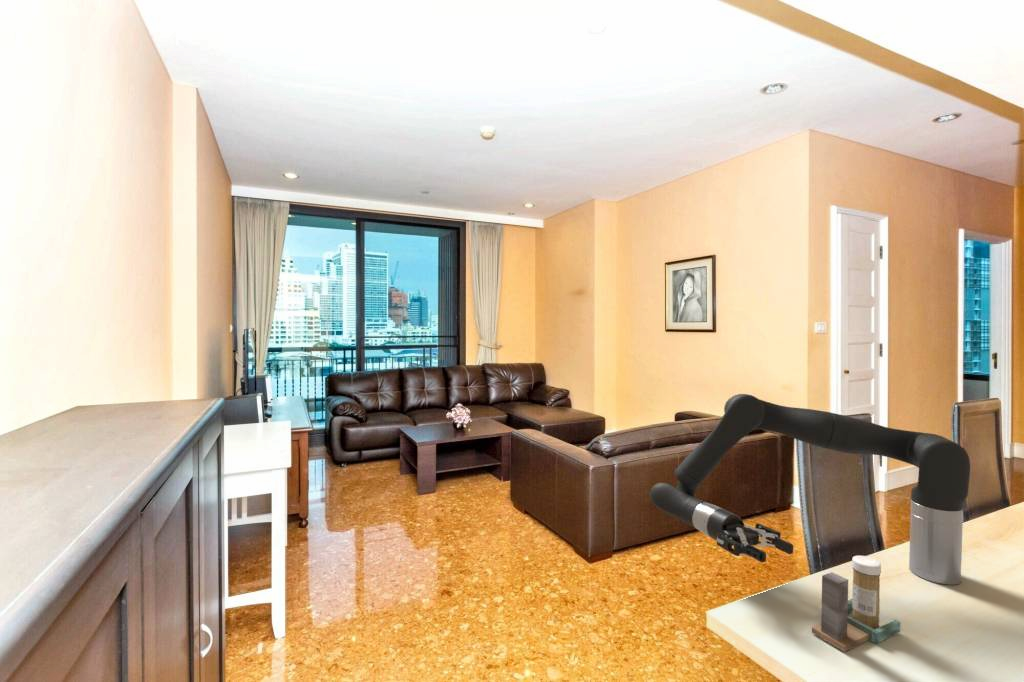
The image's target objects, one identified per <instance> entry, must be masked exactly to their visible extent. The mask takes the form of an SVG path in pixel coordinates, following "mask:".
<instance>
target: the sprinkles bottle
mask: <svg viewBox="0 0 1024 682" xmlns="http://www.w3.org/2000/svg"><path fill="white" fill-rule="evenodd" d="M851 561H852V562H851V563H852V565H851V567H852V570H853V572H852V573H853V574H852V575H853V576H852V596H851V597H852V598H851V599H852V606H853V612H852V616H851V617H852V618H853V619H855V620H857V621H859V622H861V623H863V624H865V625H867V626H868V627H870V628H872V629H874V630H875V629H877V628H879V627H880V614H881V613H880V610H881V607H880V606H881V605H880V604H881V601H880V600H881V599H880V590H881V589H880V585H881V584H880V581H881V580H880V576H881V573H882V565H881V563H880V561H878V560H877V559H875V558H873V557H869V556H866V555H854V556H852V560H851Z"/></svg>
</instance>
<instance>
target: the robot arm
mask: <svg viewBox="0 0 1024 682" xmlns="http://www.w3.org/2000/svg"><path fill="white" fill-rule="evenodd" d="M723 410H724V412H723V413H724V414H723V416H722V417H721V418H720V421H718V424H717V425H716V426H715V427H714V428H713V430H712V431H711V432H710V433H709V435H707V436H706V437H705V438H704V439H703V440H702V441H701V442H700V443H699V444H698V445H697V446H696V447H695V448H694V449H692V450H691V452H690V453H689V454H688V455H687V456H686V457H685V458H684V460H682V462H681V463H680V464H679V465H678V467H676V469H675V471H674V475H675V478H676V479H677V480H678V483H677V485H676V486H673V485H671V484H669V483H667V482H658V483H656V484H654V485H653V486H652V487H651V489H650V491H649V498H650V501H651V503H652V505H653V506H654V507H656V508H658V509H659V510H660V511H662V512H664V513H666V514H668V515H669V516H671V517H675V518H676V517H677V518H678V519H680V520H681V521H682V522H683V523H685V524H687V525H689V526H691V527H693V528H695V529H696V530H697V531H699V532H700V533H701V534H704V535H705V536H706V537H709V538H711V539H713V540H714V541H716V545H717V546H719V548H721V549H723V550H725V551H727V552H728V553H730V554H732V555H733V556H736V557H740V555H741V554H742V555H743V556H745V557H747V556H749V557H751V558H752V559H755V560H756V561H758V562H761V564H762V563H765V562H766V561H767V553H766V552H765V551H764V550H762V549H761V548H758V547H756V546H759V547H763V548H764V547H766V546H769V547H774V548H775V549H777V550H779V551H781V552H784V553H786V554H787V555H792V554H794V544H792V543H791V542H789V541H786V540H784V539H782V537H781V536H782V533H781V532H780V531H778V530H775V529H773V528H770V527H769V526H765V525H763V524H761V523H757V522H756V523H755V525H754V527H752V526H751V525H747V524H744V522H743V520H742V518H741V517H740V516H739V515H737V514H735V513H732V512H731V511H729V510H726V509H724V508H722V507H721V506H720V507H719V506H718V505H715V504H714V503H713V504H712V503H709V502H707V501H704V500H702V499H700V498H697V497H695V495H696V493H697V490H698V488H699V486H701V484H702V483H703V482H704V481H705V480H706V479H707V478H708V476H710V474H711V473H712V472H713V471H714V469H715V468H716V467H717V465H719V463H720V462H721V461H722V460H723V459H724V457H725V456H726V455H727V454H728V452H729V451H731V449H733V448H734V446H736V445H737V444H738V443H739V442H740V441H741V440H742V439H743V438H744V437H746V436H747V435H748V434H750V432H752V431H753V430H754V429H755V430H762V431H769V432H771V433H772V432H774V433H777V434H780V435H784V436H787V437H790V438H791V439H794V440H797V441H800V442H803V443H805V444H809V445H813V446H815V447H820V448H822V449H823V448H824V449H827V450H830V451H834V452H837V453H838V452H840V453H845V454H853V455H872V456H873V455H874V456H881V457H885V458H890V459H894V460H897V461H900V462H903V463H906V464H909V465H911V466H915V467H916V468H918V474H917V475H918V479H917V485H916V486H913V487H912V488H911V491H910V521H909V522H910V523H909V553H908V554H909V557H908V558H909V561H908V568H909V570H910V571H911V572H912V573H913V574H914V575H916V576H917V577H920V578H922V579H923V580H927V581H930V582H933V583H937V584H943V585H951V586H952V585H953V586H954V585H959V584H961V581H962V580H961V579H962V561H963V559H962V555H963V528H964V527H963V524H964V522H963V519H964V518H963V516H964V502H965V501H966V500H967V498H968V496H969V487H970V486H969V485H970V476H971V475H970V474H971V460H970V457H969V453H968V452H967V450H966V449H965V448H964V447H963V446H961V445H960V444H958V443H956V442H955V441H953V440H951V439H949V438H947V437H944V436H942V435H939V434H935V433H930V432H929V433H928V432H921V431H913V430H911V431H910V430H904V429H898V428H891V427H886V426H884V425H880V424H876V423H873V422H871V421H867V420H863V419H859V418H855V417H852V416H848V415H844V414H840V413H835V412H830V411H825V410H819V409H812V408H811V409H810V408H803V407H801V408H800V407H795V406H794V407H793V406H792V407H791V406H785V405H780V404H777V403H776V404H775V403H773V402H770V401H766V400H762V399H759V398H758V397H756V396H754V395H752V394H748V393H738V394H735V395H733V396H731V397H729V398H728V399H727V401H726V402H725V404H724V408H723ZM760 538H761V541H760Z"/></svg>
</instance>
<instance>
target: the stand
mask: <svg viewBox="0 0 1024 682" xmlns="http://www.w3.org/2000/svg"><path fill="white" fill-rule="evenodd" d="M850 613H853V606H852V598H851V599H849V579H848V578H846V577H843V576H842V575H839V574H837V573H835V572H833V571H831V572H829V573H826V574H822V575H821V616H820V617H821V620H820V622H821V623H817V624H816V625H815V626H812V627H811V633H812V634H814V635H815V636H817V637H818V638H820V639H822V640H824V641H825V642H827V643H829V644H830V645H832V646H834V647H835V648H837V649H838V650H841V652H843V653H844V652H846V651H848V650H851V649H853V648H854V647H857V646H859V645H861V644H863V643H865V642H867V641H871V642H872V643H874V644H879V643H881V642H883V641H885V640H887V639H889V638H891V637H893V636H895V635H897V634H899V633H901V621H899V620H897V619H893V620H891V621H890V622H888V623H886V624H884V625H882V626H879V628H877V629H875V630H874V629H872V628H870V627H868V626H867V625H865V624H863V623H861V622H859V621H857V620H855V619H853V618H852V616H849V614H850Z"/></svg>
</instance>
